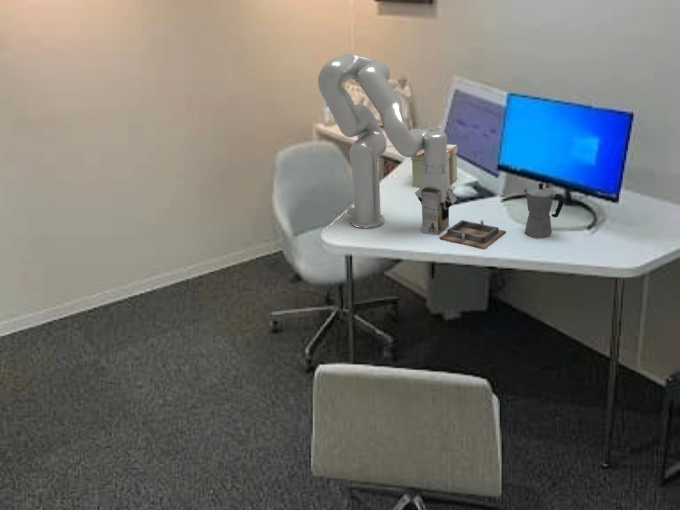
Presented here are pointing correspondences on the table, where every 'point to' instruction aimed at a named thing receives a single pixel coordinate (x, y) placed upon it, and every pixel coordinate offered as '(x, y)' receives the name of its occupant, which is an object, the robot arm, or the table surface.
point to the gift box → (418, 168)
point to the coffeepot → (541, 211)
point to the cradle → (472, 234)
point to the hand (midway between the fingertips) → (435, 216)
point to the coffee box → (432, 212)
